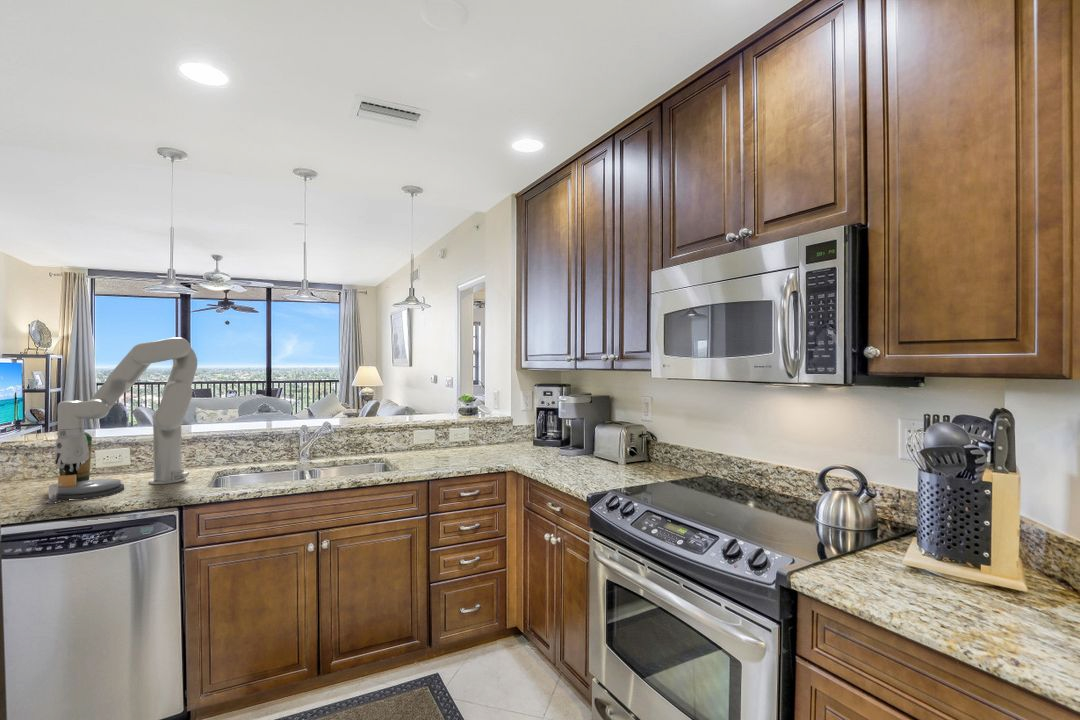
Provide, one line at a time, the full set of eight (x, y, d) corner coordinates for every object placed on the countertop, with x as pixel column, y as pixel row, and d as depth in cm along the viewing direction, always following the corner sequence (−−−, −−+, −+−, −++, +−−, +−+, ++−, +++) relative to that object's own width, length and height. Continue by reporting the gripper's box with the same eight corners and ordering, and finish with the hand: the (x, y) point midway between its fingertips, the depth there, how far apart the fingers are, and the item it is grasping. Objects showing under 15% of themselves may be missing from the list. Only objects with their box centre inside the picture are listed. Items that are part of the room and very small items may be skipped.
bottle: (71, 489, 205) (71, 417, 205) (49, 487, 207) (49, 417, 207) (99, 482, 215) (98, 414, 215) (78, 481, 218) (78, 414, 218)
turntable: (128, 480, 211) (128, 467, 211) (108, 492, 193) (108, 477, 193) (69, 485, 204) (69, 471, 204) (43, 497, 186) (43, 481, 186)
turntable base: (138, 487, 208) (138, 483, 208) (86, 501, 187) (86, 497, 187) (90, 485, 210) (90, 482, 210) (34, 499, 189) (34, 495, 189)
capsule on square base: (52, 504, 183) (52, 486, 183) (42, 504, 184) (42, 486, 184) (66, 500, 188) (66, 483, 188) (56, 500, 188) (56, 482, 188)
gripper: (62, 436, 191) (62, 486, 191) (97, 430, 206) (98, 476, 206) (42, 436, 191) (42, 486, 191) (79, 430, 206) (79, 476, 206)
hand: (71, 481), depth 199 cm, fingers closed
